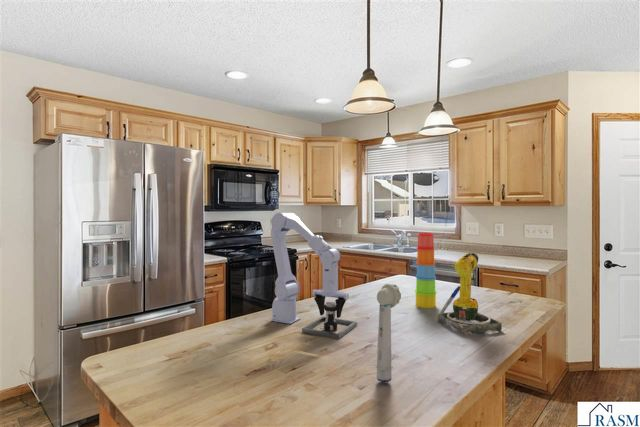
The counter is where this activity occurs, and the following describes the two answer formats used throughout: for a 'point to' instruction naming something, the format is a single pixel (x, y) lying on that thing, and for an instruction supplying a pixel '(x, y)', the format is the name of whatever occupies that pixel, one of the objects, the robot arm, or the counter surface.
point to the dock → (309, 330)
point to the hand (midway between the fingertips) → (330, 315)
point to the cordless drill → (466, 302)
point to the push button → (330, 316)
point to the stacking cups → (425, 272)
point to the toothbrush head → (385, 330)
